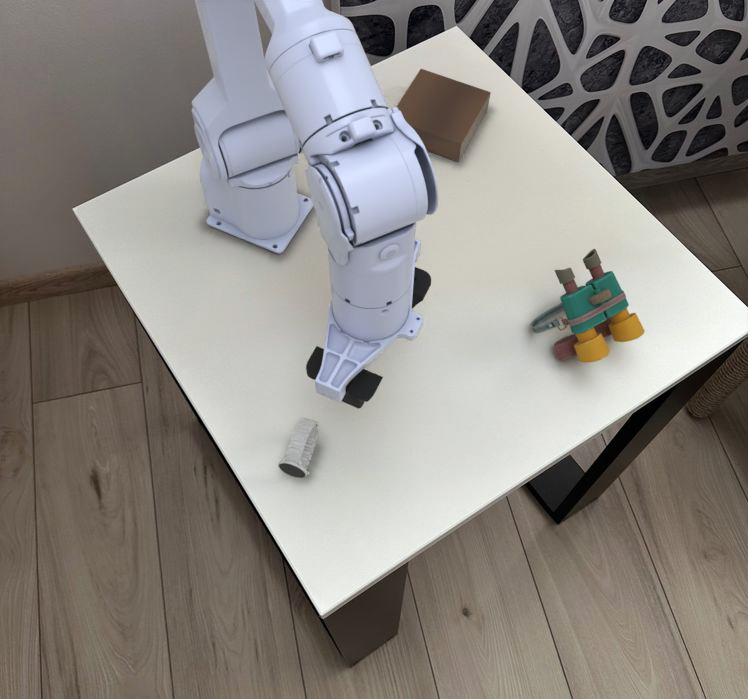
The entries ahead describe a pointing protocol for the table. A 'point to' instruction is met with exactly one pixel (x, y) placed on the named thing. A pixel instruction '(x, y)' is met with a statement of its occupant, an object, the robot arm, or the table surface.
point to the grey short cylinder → (300, 449)
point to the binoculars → (591, 314)
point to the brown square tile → (443, 112)
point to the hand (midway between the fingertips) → (370, 363)
